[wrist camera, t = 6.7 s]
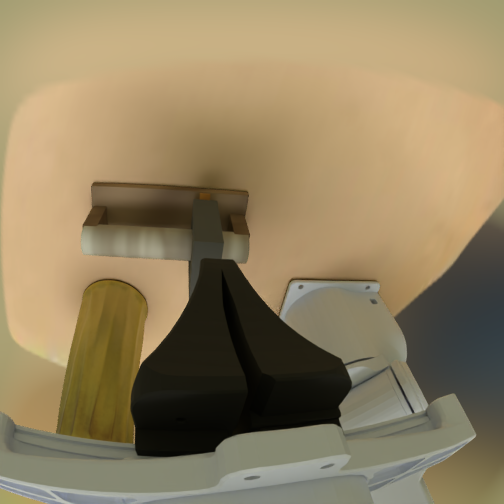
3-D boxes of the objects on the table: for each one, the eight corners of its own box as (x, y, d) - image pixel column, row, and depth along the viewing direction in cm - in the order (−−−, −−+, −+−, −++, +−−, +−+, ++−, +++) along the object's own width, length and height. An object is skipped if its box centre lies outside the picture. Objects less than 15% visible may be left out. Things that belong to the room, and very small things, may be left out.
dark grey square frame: (217, 200, 21) (223, 242, 17) (210, 255, 24) (215, 303, 20) (193, 199, 21) (193, 241, 17) (188, 253, 23) (189, 302, 19)
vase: (90, 327, 28) (66, 465, 16) (76, 277, 24) (31, 431, 13) (150, 329, 29) (146, 474, 17) (144, 279, 26) (129, 444, 14)
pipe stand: (247, 192, 23) (258, 223, 19) (236, 250, 25) (245, 288, 22) (93, 182, 20) (73, 212, 17) (97, 243, 23) (83, 280, 19)
